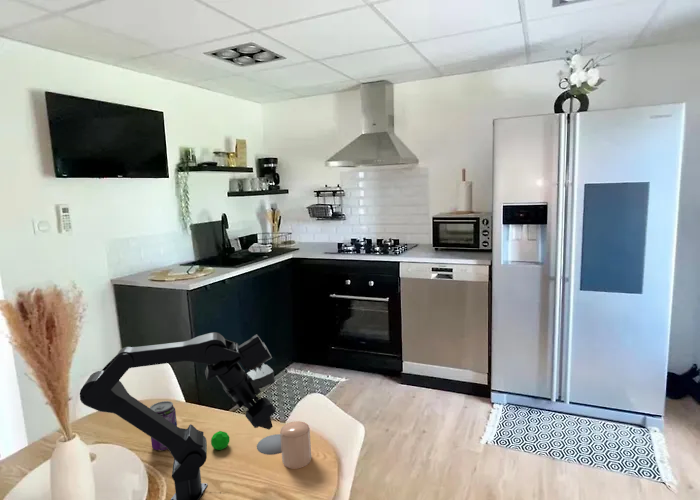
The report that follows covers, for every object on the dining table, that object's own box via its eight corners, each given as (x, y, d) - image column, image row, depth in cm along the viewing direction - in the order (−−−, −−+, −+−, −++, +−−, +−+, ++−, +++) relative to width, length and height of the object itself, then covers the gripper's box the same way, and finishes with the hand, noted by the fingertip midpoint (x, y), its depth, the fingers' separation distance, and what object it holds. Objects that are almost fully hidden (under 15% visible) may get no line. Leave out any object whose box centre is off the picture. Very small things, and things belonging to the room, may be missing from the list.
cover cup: (308, 469, 112) (305, 436, 111) (279, 469, 113) (277, 436, 111) (313, 452, 119) (311, 421, 118) (286, 452, 120) (284, 421, 119)
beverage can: (169, 453, 122) (164, 412, 120) (146, 451, 123) (142, 411, 122) (183, 439, 129) (179, 400, 127) (162, 437, 130) (158, 399, 129)
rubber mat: (287, 455, 118) (287, 454, 118) (252, 455, 119) (251, 454, 119) (296, 435, 128) (296, 434, 128) (263, 435, 129) (262, 434, 129)
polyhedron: (207, 451, 122) (206, 435, 122) (220, 442, 127) (218, 426, 126) (221, 455, 120) (220, 438, 119) (233, 445, 124) (232, 429, 124)
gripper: (278, 373, 102) (305, 414, 109) (245, 342, 116) (270, 381, 124) (239, 406, 97) (269, 447, 105) (209, 370, 112) (238, 408, 119)
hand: (262, 418), depth 113 cm, fingers open, 9 cm apart
